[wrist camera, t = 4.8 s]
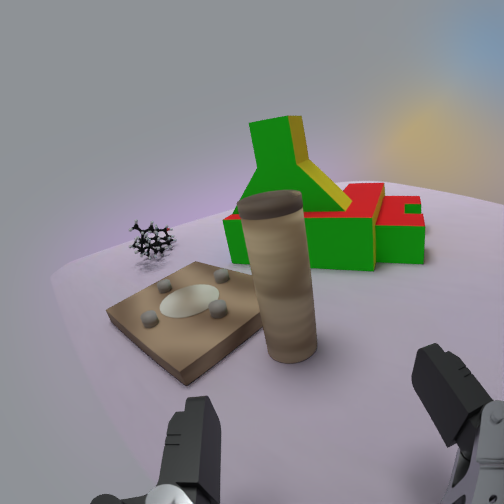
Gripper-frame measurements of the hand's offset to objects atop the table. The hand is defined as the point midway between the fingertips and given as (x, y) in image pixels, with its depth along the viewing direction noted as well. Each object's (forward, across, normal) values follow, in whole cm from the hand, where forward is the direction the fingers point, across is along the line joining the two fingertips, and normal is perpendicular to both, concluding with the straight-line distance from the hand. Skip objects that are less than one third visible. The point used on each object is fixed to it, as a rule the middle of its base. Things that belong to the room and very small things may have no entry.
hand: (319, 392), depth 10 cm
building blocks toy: (+32, -10, +8) cm, 34 cm away
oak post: (+11, 0, +7) cm, 13 cm away
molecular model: (+41, +18, +7) cm, 45 cm away
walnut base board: (+19, +9, +7) cm, 22 cm away
